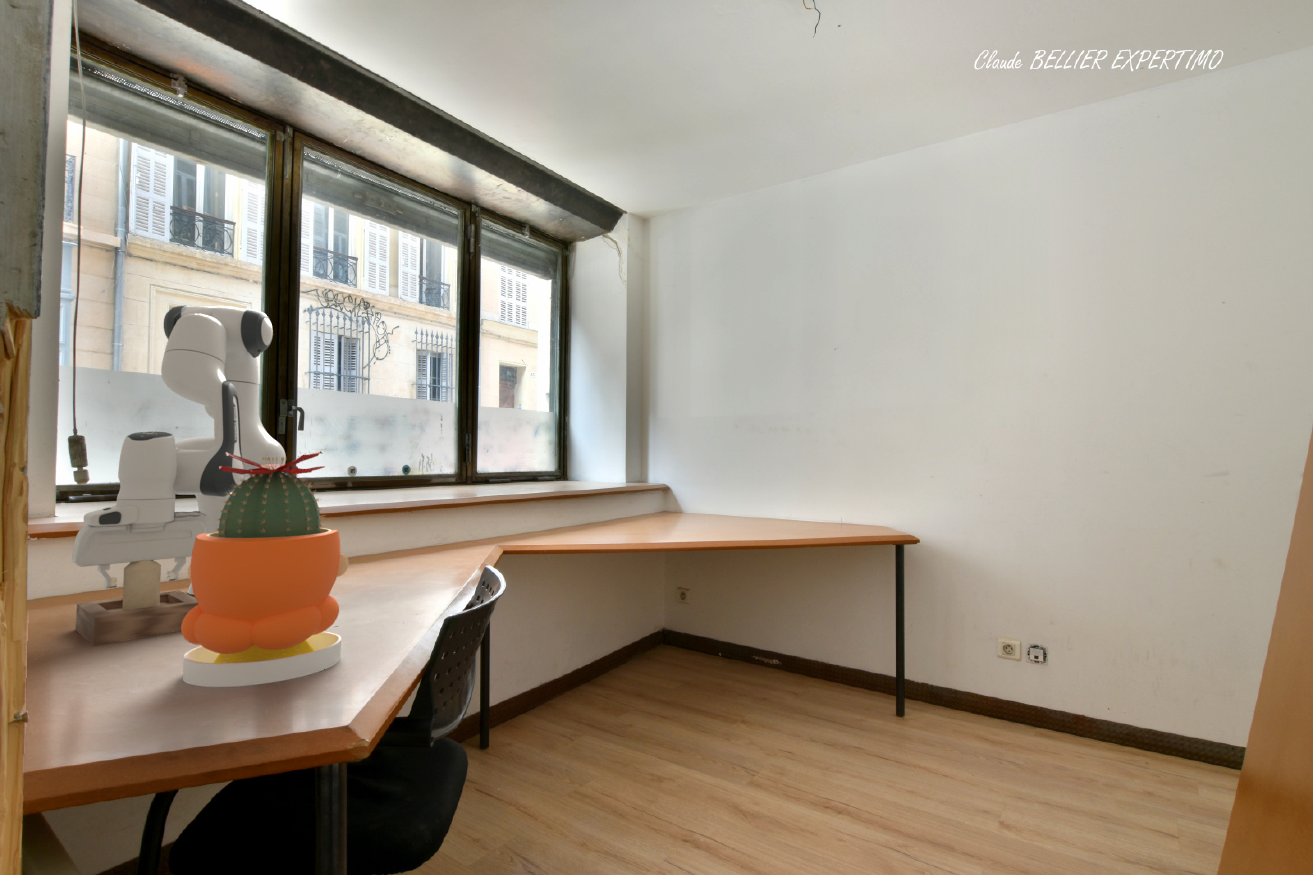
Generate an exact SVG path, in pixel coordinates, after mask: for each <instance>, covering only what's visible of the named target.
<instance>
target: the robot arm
mask: <svg viewBox="0 0 1313 875" xmlns="http://www.w3.org/2000/svg"><path fill="white" fill-rule="evenodd" d="M270 319H271V318H270V317H269V316H267V314H266V313H265V312H263V311H260V310H257V309H252V308H246V309H245V308H241V307H234V306H225V305H217V306H216V305H214V306H213V305H206V306H205V305H196V306H195V305H194V306H192V305H188V304H186V305H177V306H174V307H172V308H171V309H169V310H168V311H167V312H165V315H164V319H163V331H164V334H165V336H166V338H167V342H166V346H165V349H164V353H163V357H162V362H161V369H160V373H161V378H162V380H163V381H162V382H164V384H165V385H166V386H167V388H169V389H170V390H171V391H172V392H174V393H175V394H177V395H179V397H182V398H185V399H186V400H189V401H191V402H194V403H196V404H200V405H202V406H204V409H205V412H206V414H207V415H208V416H209V418H210V417H211V418H212V419H213V429H214V430H213V431H214V436H202V435H200V436H196V437H195V436H194V437H189V438H183V439H179V440H178V441H177V442H176V439H175V436H174V434H172V433H169V432H164V431H142V432H141V431H139V432H133V433H130V434H129V435H127V436H126V437H125V438H124V440H123V443H122V446H121V450H120V456H119V461H118V474H117V478H118V481H119V484H120V485H119V486H120V487H119V492H118V494H117V497H116V504H115V505H112V506H109V507H104V508H101V509H97V510H93V511H90V512H87V513H85V514H84V515H83V523H84V524H85V525H84V526H83V527H82V528H80V529H79V531H78V532H77V534H76V536H75V539H74V543H73V544H74V545H73V549H72V555H71V556H72V557H71V561H72V563H73V564H74V565H76V566H78V567H81V568H84V567H92V566H93V567H95V566H97V571H98V573H99V574H100V575H101V576H102V578H103V579H104V589H114V588H117V585H118V584H117V582H118V578H117V577H115V576H114V577H113V576H110V575H109V573H108V571H110V569H111V565H115V564H125V563H127V564H129V563H130V562H138V561H142V560H153V561H156V560H157V561H158V560H169V559H174V560H173V561H174V563H176V564H175V565H174V567H173V568H172V570H169V571H167V572H166V581H168V582H172V581H173V582H175V581H179V573H180V571H181V570H182V568H183V567H184V566H185V565H186V563H187V558H191V557H192V550H193V546H194V543H195V539H196V537H197V536H198V535H200V534H202V533H207V534H209V533H215V532H219V531H216V530H213V529H215V528H217V529H219V523H220V521H216V520H213V519H218V518H220V517H221V514H222V512H220V511H219V510H220V509H221V510H223V508H224V506H225V504H226V503H223V502H224V501H225V500H228V498H229V497H230V493H232V491H233V490H235V489H236V488H234V487H235V485H236V486H238V485H240V484H241V483H243V482H241V481H242V479H243V480H245V479H244V478H246V480H247V478H250V476H251V475H252V474H251V475H250V474H243V475H242V474H237V473H233V472H226V471H223V470H220V469H219V466H221V467H222V466H223V467H224V466H227V467H231V468H238V469H245V470H249V469H256V468H259V467H257V466H254V465H250V464H247V463H245V462H242V461H240V460H237V459H235V458H232V457H230V456H227V455H226V452H228V453H230V454H233V455H236V456H239V457H242V458H244V459H247V460H250V461H253V462H255V463H258V464H260V465H263V464H264V465H266V464H270V462H271V464H276V457H277V464H281V463H282V464H284V465H285V464H286V463H285V458H286V459H287V456H286V452H285V449H284V447H283V446H282V444H281V443H280V442H279V441H277V440H276V439H275V438H273V437H272V436H271V435H270V434H269V433H268V432H267V430H266V428H265V427H264V425H263V423H262V421H261V417H260V414H259V413H260V412H259V367H258V359H257V358H259V356H260V354H261V353H263V352H265V351H266V350H267V349H268V348H269V347H270V345H271V343H272V340H273V336H274V333H273V332H274V330H273V325H272V321H271V320H270ZM263 457H264V459H263V460H262V458H263ZM265 457H266V464H265ZM268 457H270V461H269V460H268ZM273 457H274V460H272V458H273ZM283 457H284V461H283V460H282V461H283V462H282V461H281V458H283ZM249 475H250V476H249ZM252 476H253V475H252ZM242 477H243V478H242ZM239 479H240V481H239ZM235 483H236V484H235ZM239 483H240V484H239ZM233 486H234V487H233ZM228 489H229V490H230V492H229V490H228ZM227 492H228V493H227ZM224 493H225V494H224ZM227 494H229V495H227ZM176 495H181V496H182V495H183V496H184V495H185V496H186V495H187V496H188V495H193V496H195V498H196V501H197V505H198V510H194V511H176ZM224 498H225V499H224ZM221 499H222V500H221ZM220 500H221V501H220ZM223 500H224V501H223ZM219 508H220V509H219ZM216 510H217V511H216ZM216 512H217V513H216ZM216 517H217V518H216ZM212 527H213V528H212ZM212 530H213V531H212ZM214 531H215V532H214ZM186 594H188V595H191V596H195V595H194V593H193V589H192V583H191V582H190V584H189V588H188V589H187V592H186Z"/></svg>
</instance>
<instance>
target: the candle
mask: <svg viewBox="0 0 1313 875" xmlns="http://www.w3.org/2000/svg"><path fill="white" fill-rule="evenodd" d="M161 569H162V565H161V564H160V563H159V562H158V561H156V560H142V561H138V562H128V563H127V565H126V566H125V567H123V582H122V584H123V586H122V598H123V611H125V610H132V609H139V608H146V607H153V606H159V604H160V593H161V577H162V576H161V574H162V573H161V571H162V570H161Z"/></svg>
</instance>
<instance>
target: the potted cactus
mask: <svg viewBox="0 0 1313 875" xmlns="http://www.w3.org/2000/svg"><path fill="white" fill-rule="evenodd" d="M320 454H321V455H323V452H322V451H315V452H311V453H309V454H302V455H300V456H299V457H297V458H296V459H295V460H293V461H291V462H288V463H286V461H287V457H286V458H285V465H284V464H282V463H281V464H277V457H276V464H271V462H270V464H266V457H265V464H266V465H264V464H263V465H260V464H258V463H255V462H253V461H250V460H247V459H244V458H242V457H239V456H236V455H233V454H230V453H228V452H226V455H227V456H230V457H232V458H235V459H237V460H240V461H242V462H245V463H247V464H250V465H254V466H257V467H259V468H256V469H249V470H245V469H238V468H231V467H227V466H224V467H223V466H222V467H221V466H219V469H220V470H223V471H226V472H233V473H237V474H242V475H243V474H250V475H251V474H252V475H253V476H252V475H251V476H250V475H249V476H250V478H247V480H246V478H244V479H245V480H243V479H242V481H241V482H243V483H241V484H240V483H239V484H240V485H238V486H236V485H235V487H234V486H233V487H234V488H236V489H235V490H233V491H232V493H230V497H229V498H228V500H225V501H224V500H223V501H224V502H223V503H226V504H225V506H224V508H223V510H221V509H220V508H219V509H220V510H219V511H220V512H222V514H221V517H220V518H218V519H213V520H216V521H220V523H219V529H217V528H215V529H213V530H216V531H219V532H215V531H214V532H215V533H209V534H207V533H202V534H200V535H198V536H197V537H196V539H195V543H194V546H193V550H192V557H190V564H189V566H188V568H187V577H188V579H189V580H190V581H191V582H190V584H191V583H192V589H193V593H194V595H193V596H194V597H195V598H196V600H197V602H198V604H199V605H197V606H195V607H194V608H193V609H191V610H190V611H189V612H188V613H187V615H186V616H185V617H184V619H183V621H182V625H181V631H180V632H181V635H182V637H183V638H184V640H186V641H187V642H188V643H189V644H192V645H195V646H197V647H195V648H192V649H190V650H188V651H186V653H184V655H183V666H182V668H183V669H182V681H183V683H186V684H188V685H191V686H197V687H203V688H205V687H206V688H229V687H247V686H254V685H264V684H271V683H278V682H282V681H283V682H284V681H288V680H292V679H298V678H301V677H302V678H303V677H306V676H308V675H312V674H316V673H319V672H322V671H324V669H325V670H327V669H329V668H332V667H334V666H335V665H337V664H338V663H339V662H340V661H341V659H342V658H341V657H342V636H341V635H339V634H337V633H334V632H329V631H327V630H328V629H329V628H330V627H332V626H333V625H334V623H335V622H336V620H337V619H338V617H339V614H340V613H339V612H340V605H339V603H338V601H337V600H336V599H335V598H334V597H333V596H331V595H330V593H331V592H332V589H333V587H334V584H335V583H336V581H337V578H338V577H341V576H343V575H345V573H346V572H347V570H348V568H349V559H348V557H347V556H346V554H344V553H341V540H340V534H339V530H338V529H329V528H326V527H327V526H326V523H325V524H324V523H323V524H321V520H324V519H325V518H327V517H324V516H325V514H324V515H321V514H320V513H321V512H320V511H324V510H325V509H324V506H323V507H322V506H320V507H319V504H318V502H319V501H321V500H322V499H321V498H320V497H317V498H316V496H315V495H316V494H318V491H317V489H315V490H312V487H313V485H312V482H309V484H308V485H307V483H306V482H307V476H305V475H303V477H301V478H299V476H300V475H302V474H309V473H312V472H314V471H317V470H321V469H324V468H326V466H322V465H321V466H315V467H314V466H313V467H308V468H300V467H298V466H297V465H298V464H299V463H302V462H305V461H308V460H310V459H314V458H316V457H318V456H319V455H320ZM263 459H264V457H263V458H262V460H263ZM268 460H269V461H270V457H268ZM272 460H274V457H273V458H272ZM282 460H283V461H284V457H283V458H281V461H282ZM283 461H282V462H283ZM295 465H296V466H295ZM293 466H295V467H293ZM291 467H293V468H291ZM242 478H243V477H242ZM239 481H240V479H239ZM235 484H236V483H235ZM228 490H229V489H228ZM316 491H317V492H316ZM229 492H230V490H229ZM227 493H228V492H227ZM224 494H225V493H224ZM227 495H229V494H227ZM224 499H225V498H224ZM221 500H222V499H221ZM221 500H220V501H221ZM216 511H217V510H216ZM216 513H217V512H216ZM216 518H217V517H216ZM324 525H325V526H324ZM212 528H213V527H212ZM213 530H212V531H213Z"/></svg>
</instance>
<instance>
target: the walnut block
mask: <svg viewBox="0 0 1313 875" xmlns="http://www.w3.org/2000/svg"><path fill="white" fill-rule="evenodd" d="M197 605H199V604H198V602H197V600H196V597H195V596H194V595H191V594H188V593H187V592H183V591H181V590H173V591H172V590H171V591H165V592H164V591H163V592H160V604H159V606H153V607H146V608H139V609H132V610H125V611H123V597H117V598H110V599H103V600H97V601H89V602H88V601H87V602H81V603H76V613H75V614H76V618H75V630H76V631H77V632H78V634H80V635H81V636H82V637H83V638H84V639H85V640H86V641H87V642H89V643H90V644H91V645H92V646H93V647H95V646H101V645H107V644H112V643H117V642H119V643H120V642H122V641H123V642H124V641H130V640H135V639H141V638H147V637H153V636H157V635H158V636H159V635H165V634H171V633H176V632H181V625H182V621H183V619H184V617H185V616H186V615H187V613H188V612H189V611H190V610H191V609H193V608H194V607H195V606H197Z"/></svg>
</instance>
